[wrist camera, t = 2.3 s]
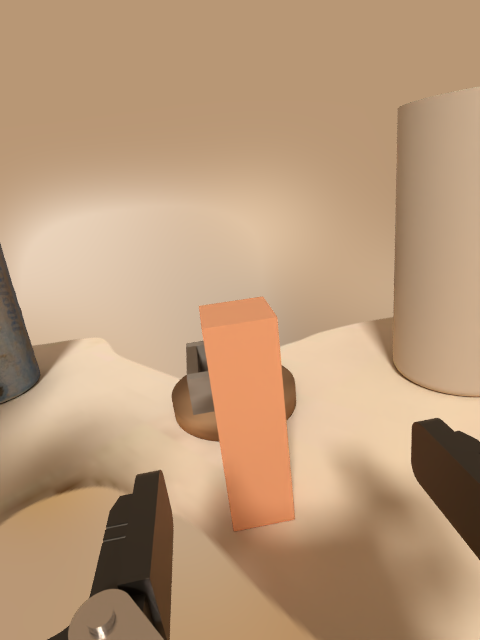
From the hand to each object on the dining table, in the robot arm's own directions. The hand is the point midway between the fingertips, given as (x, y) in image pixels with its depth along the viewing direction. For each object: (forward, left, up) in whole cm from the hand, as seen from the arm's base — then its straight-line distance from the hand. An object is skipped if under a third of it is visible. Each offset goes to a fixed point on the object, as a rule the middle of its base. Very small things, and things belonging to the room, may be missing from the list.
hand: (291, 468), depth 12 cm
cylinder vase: (-5, +33, -13) cm, 36 cm away
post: (-9, +7, -12) cm, 17 cm away
